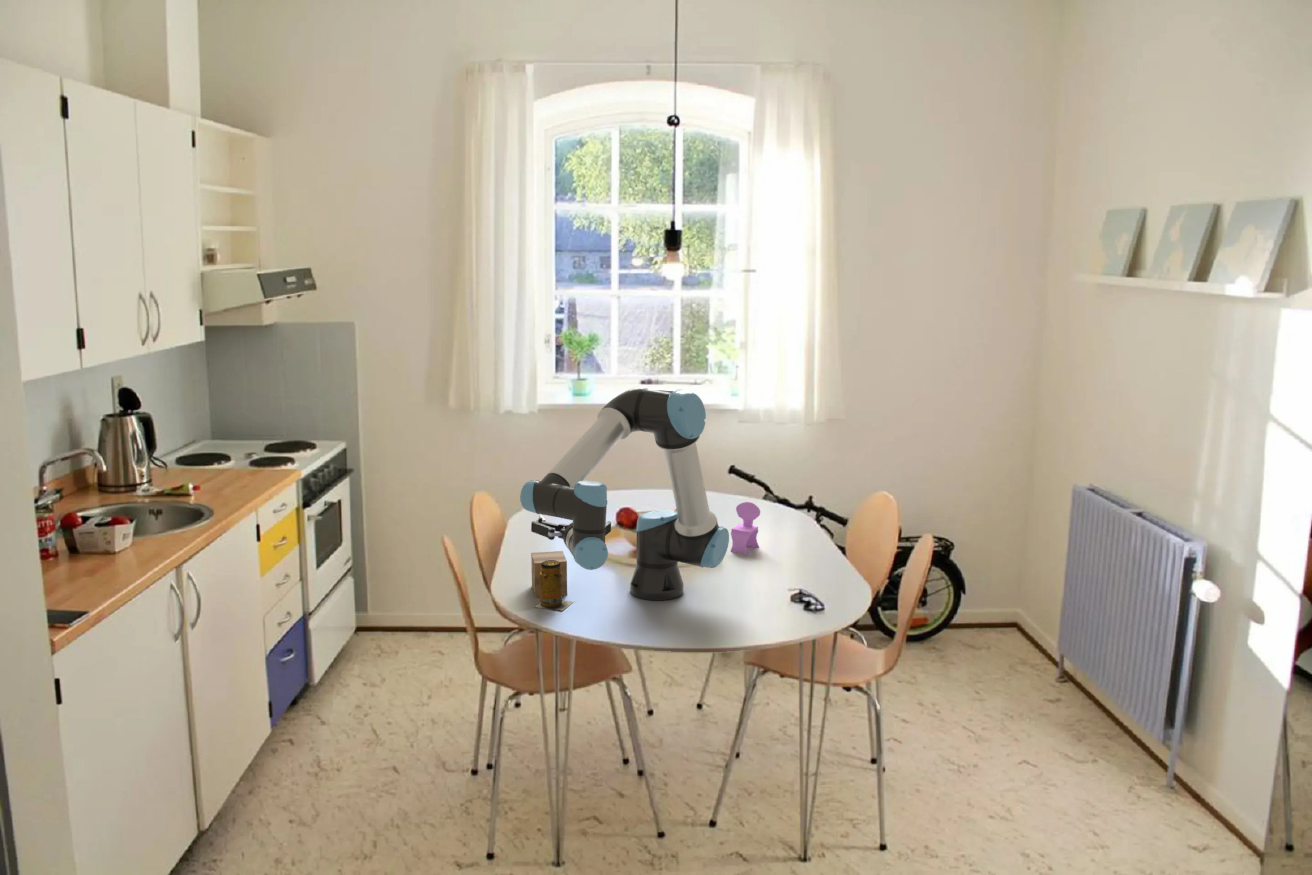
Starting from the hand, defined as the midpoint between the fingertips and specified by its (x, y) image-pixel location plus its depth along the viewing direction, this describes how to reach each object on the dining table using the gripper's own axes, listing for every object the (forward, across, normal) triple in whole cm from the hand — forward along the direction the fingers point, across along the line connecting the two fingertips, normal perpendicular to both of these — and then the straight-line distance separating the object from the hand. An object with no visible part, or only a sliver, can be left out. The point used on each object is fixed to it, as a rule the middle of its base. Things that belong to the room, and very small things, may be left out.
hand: (566, 519), depth 273 cm
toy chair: (+47, +66, -21) cm, 84 cm away
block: (+24, 0, -26) cm, 36 cm away
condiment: (+13, 0, -27) cm, 30 cm away
